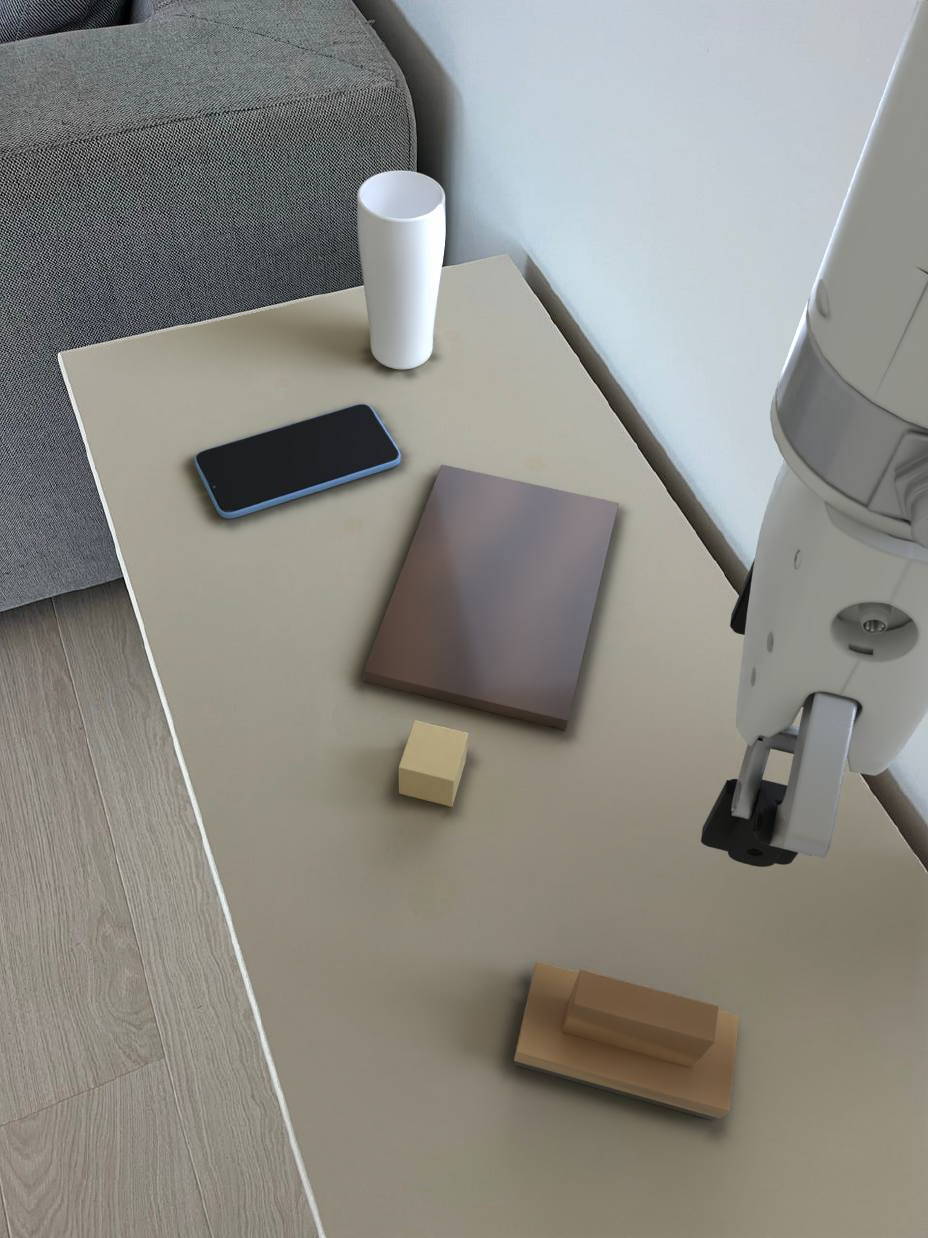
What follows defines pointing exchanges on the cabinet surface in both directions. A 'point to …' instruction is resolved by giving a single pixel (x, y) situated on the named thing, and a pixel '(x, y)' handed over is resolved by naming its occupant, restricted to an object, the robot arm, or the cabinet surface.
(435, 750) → the cream foam cube
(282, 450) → the smartphone
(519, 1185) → the cabinet surface
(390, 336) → the drinking glass
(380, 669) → the book
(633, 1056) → the brown block with base
